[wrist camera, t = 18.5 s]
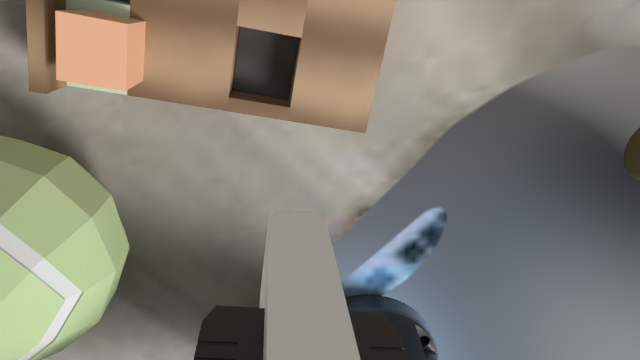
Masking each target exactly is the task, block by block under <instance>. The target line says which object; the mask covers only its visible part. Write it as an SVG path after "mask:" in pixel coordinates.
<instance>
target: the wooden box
mask: <svg viewBox="0 0 640 360" xmlns="http://www.w3.org/2000/svg"><path fill="white" fill-rule="evenodd" d="M123 1H126V2H123ZM395 1H396V0H121V1H118V0H26V23H27V47H28V70H29V91H32V92H39V93H45V94H47V93H49V92H52V91H54V90H57V89H59V88H62V87H64V86H73V87H80V88H86V89H92V90H99V91H105V92H111V93H117V94H124V95H130V96H136V97H143V98H149V99H155V100H161V101H168V102H174V103H180V104H186V105H193V106H199V107H205V108H212V109H218V110H224V111H230V112H237V113H243V114H249V115H256V116H262V117H268V118H274V119H281V120H287V121H293V122H299V123H306V124H312V125H318V126H325V127H331V128H337V129H343V130H350V131H356V132H362V133H365V132H366V128H367V124H368V119H369V115H370V111H371V106H372V102H373V97H374V93H375V89H376V84H377V80H378V76H379V71H380V67H381V63H382V58H383V54H384V49H385V45H386V41H387V36H388V32H389V28H390V23H391V19H392V14H393V10H394V6H395ZM128 2H130V3H128ZM79 9H84V10H89V11H94V12H100V13H105V14H110V15H116V16H121V17H126V18H132V19H137V20H142V21H146V31H145V52H144V72H143V81H142V82H140V83H138V84H137V85H135V86H133V87H132V88H130V89H128V90H127V91H121V90H115V89H109V88H103V87H96V86H90V85H84V84H78V83H72V82H66V81H60V80H56V26H55V11H57V10H79ZM239 28H240V31H239ZM238 36H239V40H238ZM298 38H299V40H298ZM297 44H298V47H297ZM237 45H238V48H237ZM296 50H297V53H296ZM236 53H237V57H236ZM295 56H296V59H295ZM235 62H236V65H235ZM294 62H295V65H294ZM293 69H294V71H293ZM234 70H235V74H234ZM292 75H293V77H292ZM233 79H234V82H233ZM291 81H292V83H291ZM290 87H291V90H290ZM232 88H233V90H232ZM289 93H290V96H289Z"/></svg>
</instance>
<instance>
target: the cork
mask: <svg viewBox="0 0 640 360" xmlns="http://www.w3.org/2000/svg"><path fill="white" fill-rule="evenodd" d="M624 165H625V167H626V169H627V171H628V173H629V174H631V175H632V176H633V177H635V178H637V179H640V128H639V129H638V130H637V131H636V132H635V133H634V134H633V135H632V137H631V138H630V140H629V142H628V144H627V146H626V149H625V153H624Z"/></svg>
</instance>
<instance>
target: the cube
mask: <svg viewBox="0 0 640 360" xmlns="http://www.w3.org/2000/svg"><path fill="white" fill-rule="evenodd" d="M55 26H56V80H60V81H66V82H72V83H78V84H84V85H90V86H96V87H103V88H109V89H115V90H121V91H127V90H128V89H130V88H132V87H133V86H135V85H137V84H138V83H140V82H142V81H143V72H144V52H145V31H146V21H142V20H137V19H132V18H126V17H121V16H116V15H110V14H105V13H100V12H94V11H89V10H84V9H79V10H57V11H55Z"/></svg>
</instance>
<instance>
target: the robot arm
mask: <svg viewBox="0 0 640 360" xmlns="http://www.w3.org/2000/svg"><path fill="white" fill-rule="evenodd" d="M194 360H439V355H438V350H437V346H436V344H435V341H434V339H433V337H432V334H431V332H430V330H429V328H428V326H427V324H426V322H425V321H424V319H423V318H422V317H421V316H420V315H419V314H418V313H417V312H416V311H415V310H414V309H412V308H411V307H409V306H408V305H406V304H404V303H402V302H400V301H398V300H395V299H392V298H388V297H383V296H374V295H363V296H354V297H348V298H345V295H344V291H343V287H342V283H341V279H340V275H339V272H338V267H337V263H336V259H335V255H334V251H333V247H332V243H331V239H330V235H329V231H328V227H327V223H326V219H325V215H324V214H323V213H311V212H299V211H287V210H275V209H269V216H268V226H267V235H266V244H265V254H264V263H263V273H262V282H261V291H260V308H251V307H233V306H216V307H215V308H214V309H213V310H212V311H211V312H210V313H209V314H208V316H207V317H206V318H205V319H204V320H203V321H202V325H201V329H200V334H199V338H198V344H197V347H196V351H195V356H194Z"/></svg>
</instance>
